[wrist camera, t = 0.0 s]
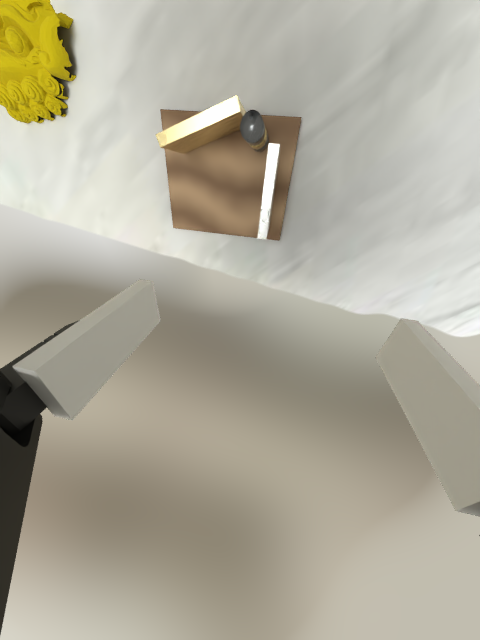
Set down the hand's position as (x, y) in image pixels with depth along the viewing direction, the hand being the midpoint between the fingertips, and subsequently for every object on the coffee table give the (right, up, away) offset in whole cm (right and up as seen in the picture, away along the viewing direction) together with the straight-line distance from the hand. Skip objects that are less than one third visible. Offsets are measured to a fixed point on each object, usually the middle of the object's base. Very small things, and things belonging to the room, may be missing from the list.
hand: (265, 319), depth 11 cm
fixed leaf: (+2, +20, +19) cm, 28 cm away
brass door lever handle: (-4, +24, +17) cm, 30 cm away
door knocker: (-32, +38, +16) cm, 52 cm away
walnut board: (-3, +22, +20) cm, 30 cm away
